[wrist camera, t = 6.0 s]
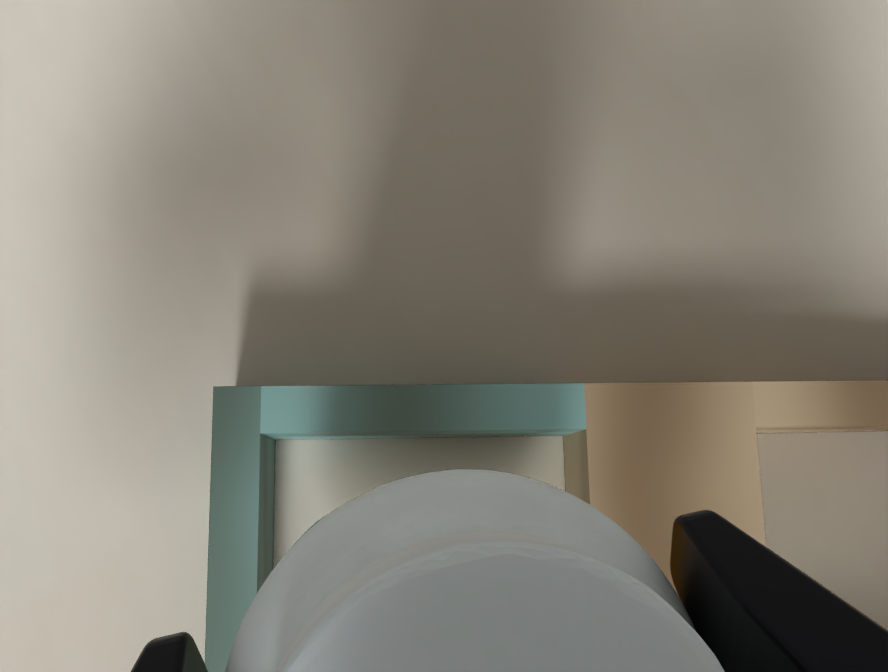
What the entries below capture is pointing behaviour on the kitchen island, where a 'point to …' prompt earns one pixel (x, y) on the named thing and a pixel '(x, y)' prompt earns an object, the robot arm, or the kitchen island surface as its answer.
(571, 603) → the supplement bottle
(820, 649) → the robot arm
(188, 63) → the kitchen island surface
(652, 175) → the kitchen island surface
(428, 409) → the rail
